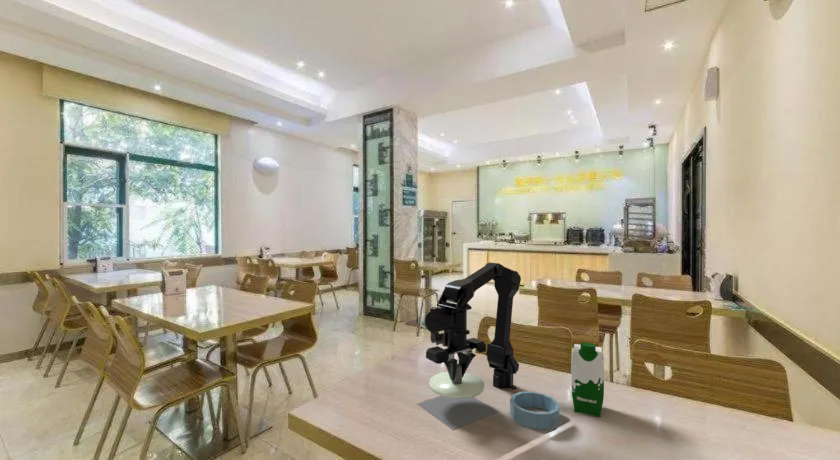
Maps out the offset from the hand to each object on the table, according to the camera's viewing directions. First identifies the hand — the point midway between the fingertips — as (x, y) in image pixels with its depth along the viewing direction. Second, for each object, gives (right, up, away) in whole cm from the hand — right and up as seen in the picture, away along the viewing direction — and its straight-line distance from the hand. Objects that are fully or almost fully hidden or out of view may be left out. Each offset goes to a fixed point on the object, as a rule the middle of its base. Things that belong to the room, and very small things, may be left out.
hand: (456, 378), depth 107 cm
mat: (0, -10, 0) cm, 10 cm away
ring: (+22, -10, -5) cm, 24 cm away
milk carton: (+39, -10, +1) cm, 40 cm away
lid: (0, -2, 0) cm, 2 cm away
